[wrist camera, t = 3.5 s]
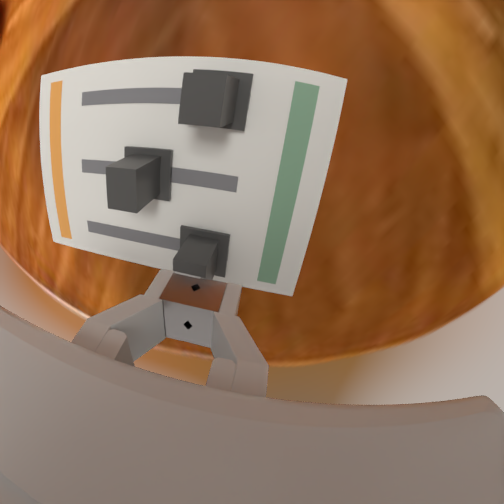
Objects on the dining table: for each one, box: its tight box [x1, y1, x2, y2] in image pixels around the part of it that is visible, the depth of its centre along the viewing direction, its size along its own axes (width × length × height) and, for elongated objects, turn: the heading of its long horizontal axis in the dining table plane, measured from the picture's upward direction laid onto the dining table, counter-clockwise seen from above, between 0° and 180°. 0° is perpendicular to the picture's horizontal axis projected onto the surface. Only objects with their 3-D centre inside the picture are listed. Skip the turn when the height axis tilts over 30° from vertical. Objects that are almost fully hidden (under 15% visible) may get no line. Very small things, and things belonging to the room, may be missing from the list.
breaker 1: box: [178, 69, 254, 131], centre depth 15 cm, size 4×4×4 cm
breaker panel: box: [39, 57, 347, 296], centre depth 21 cm, size 26×18×3 cm
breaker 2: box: [173, 225, 230, 280], centre depth 21 cm, size 4×4×4 cm
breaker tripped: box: [106, 146, 173, 213], centre depth 18 cm, size 4×4×4 cm
